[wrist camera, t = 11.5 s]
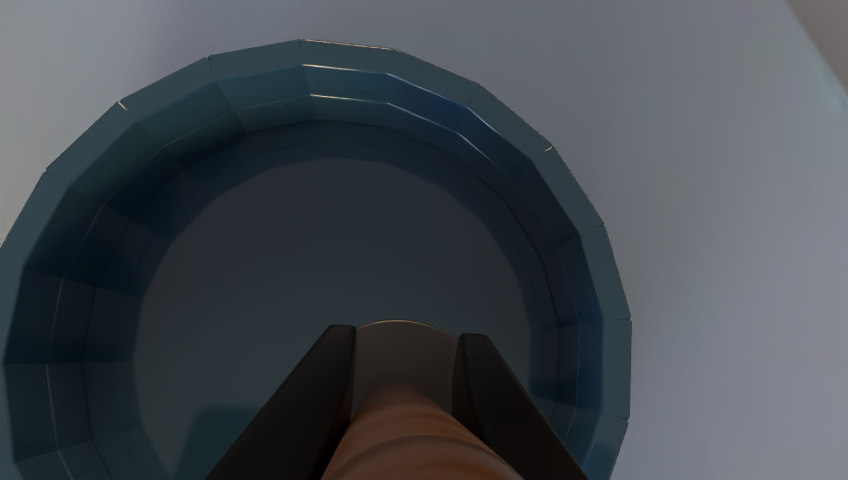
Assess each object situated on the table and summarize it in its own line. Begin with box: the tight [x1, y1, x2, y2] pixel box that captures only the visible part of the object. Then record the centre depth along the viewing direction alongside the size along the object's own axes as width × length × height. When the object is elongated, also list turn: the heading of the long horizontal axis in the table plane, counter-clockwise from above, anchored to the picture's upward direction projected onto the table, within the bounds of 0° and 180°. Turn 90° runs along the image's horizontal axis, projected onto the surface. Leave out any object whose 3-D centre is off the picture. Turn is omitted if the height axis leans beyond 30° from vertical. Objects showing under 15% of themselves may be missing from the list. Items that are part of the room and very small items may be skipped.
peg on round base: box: [321, 319, 524, 480], centre depth 10 cm, size 4×4×14 cm
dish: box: [0, 39, 632, 480], centre depth 16 cm, size 14×14×4 cm
